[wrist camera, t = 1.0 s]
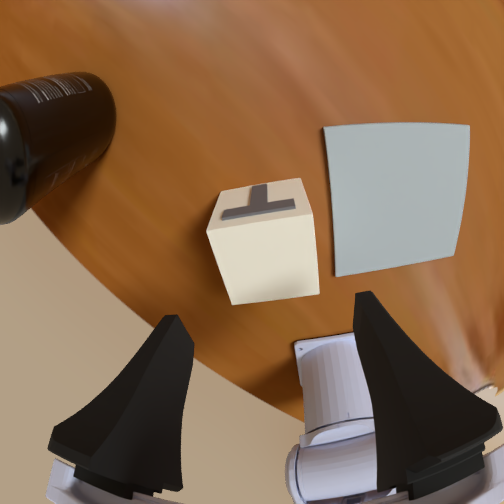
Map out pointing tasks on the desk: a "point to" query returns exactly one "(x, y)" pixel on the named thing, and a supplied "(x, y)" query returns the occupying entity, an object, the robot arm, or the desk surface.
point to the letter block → (265, 242)
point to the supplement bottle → (49, 135)
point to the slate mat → (395, 192)
